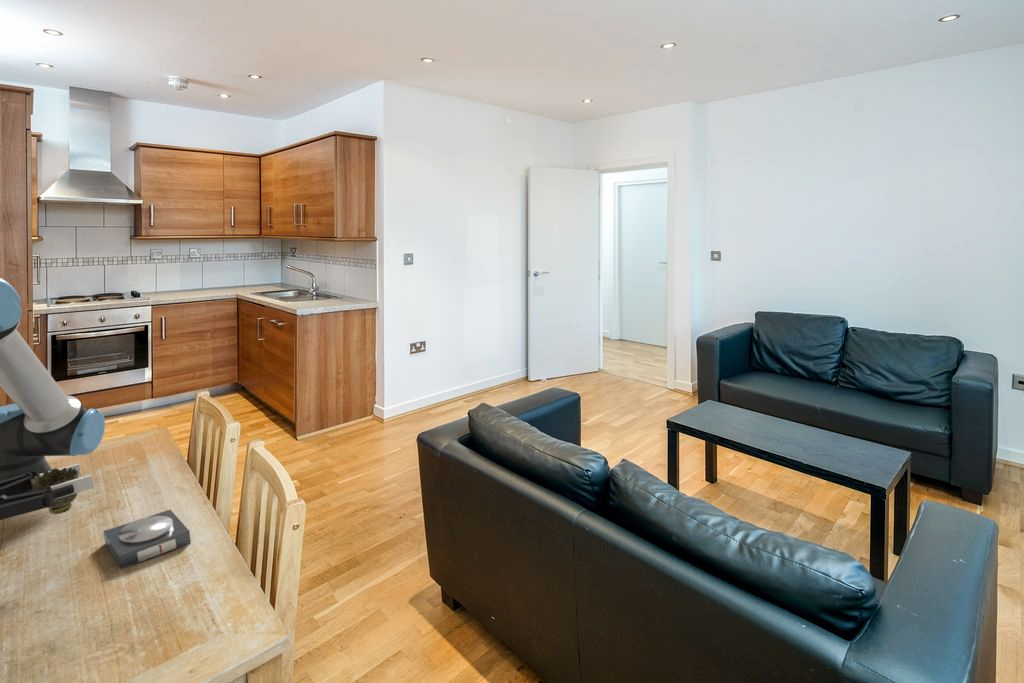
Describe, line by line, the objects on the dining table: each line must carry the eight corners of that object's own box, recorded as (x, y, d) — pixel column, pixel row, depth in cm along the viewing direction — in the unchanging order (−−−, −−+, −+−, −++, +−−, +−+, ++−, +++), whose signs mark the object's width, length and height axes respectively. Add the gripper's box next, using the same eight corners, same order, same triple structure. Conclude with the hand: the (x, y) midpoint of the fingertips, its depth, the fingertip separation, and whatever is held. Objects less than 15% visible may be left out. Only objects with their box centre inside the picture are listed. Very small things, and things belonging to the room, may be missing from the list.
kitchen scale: (105, 543, 121) (102, 527, 120) (171, 521, 130) (169, 506, 129) (121, 570, 111) (119, 553, 111) (192, 544, 121) (190, 528, 120)
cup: (57, 522, 108) (50, 485, 106) (27, 518, 110) (20, 481, 108) (92, 503, 115) (87, 468, 114) (64, 499, 117) (57, 465, 115)
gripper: (-75, 520, 104) (73, 477, 122) (-57, 561, 92) (105, 507, 110) (-84, 484, 102) (67, 446, 120) (-67, 521, 90) (99, 473, 108)
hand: (85, 475), depth 115 cm, fingers closed on cup, 7 cm apart
